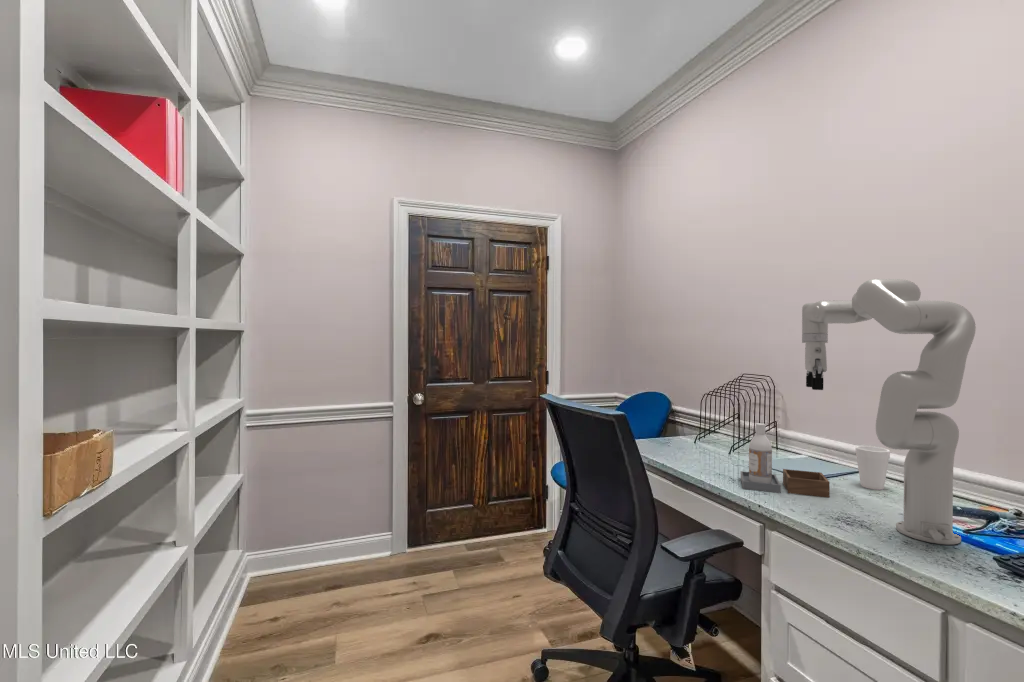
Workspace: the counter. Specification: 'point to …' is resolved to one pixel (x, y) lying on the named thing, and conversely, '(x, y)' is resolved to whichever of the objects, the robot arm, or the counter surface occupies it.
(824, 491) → the small wooden crate
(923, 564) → the counter surface
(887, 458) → the foam cup
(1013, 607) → the counter surface
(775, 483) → the tray
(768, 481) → the bath foam
